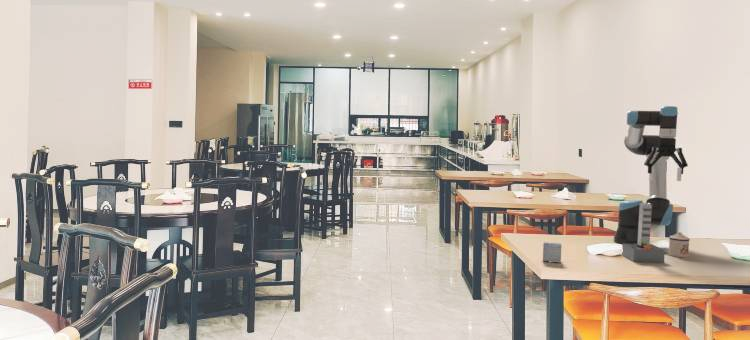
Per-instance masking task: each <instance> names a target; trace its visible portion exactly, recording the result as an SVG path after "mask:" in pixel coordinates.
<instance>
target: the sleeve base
mask: <svg viewBox="0 0 750 340" xmlns="http://www.w3.org/2000/svg"><path fill="white" fill-rule="evenodd" d="M621 248H622V249H623V252H622V251H621V254H622V255H621V256H622V257H624V258H626V259H628V260H629V261H631V262H633V263H653V264H654V263H656V264H664V263H665V252H666V250H665V249H663V248H661V247H659V246H657V245H654V244H653V243H650V245H644V246H639V245H637V244H629V243H623V244H622V247H621ZM622 249H621V250H622Z"/></svg>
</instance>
